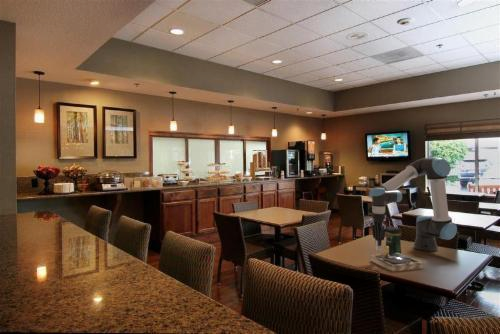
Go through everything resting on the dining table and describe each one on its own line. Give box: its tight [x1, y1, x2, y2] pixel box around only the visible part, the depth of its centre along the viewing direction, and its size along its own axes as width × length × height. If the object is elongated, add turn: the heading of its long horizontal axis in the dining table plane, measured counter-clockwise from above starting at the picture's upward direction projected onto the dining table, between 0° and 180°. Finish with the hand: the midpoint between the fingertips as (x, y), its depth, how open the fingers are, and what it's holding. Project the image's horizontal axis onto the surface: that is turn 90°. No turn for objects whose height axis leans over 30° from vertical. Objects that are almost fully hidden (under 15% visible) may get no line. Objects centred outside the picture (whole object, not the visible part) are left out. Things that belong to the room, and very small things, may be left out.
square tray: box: [370, 253, 423, 272], centre depth 195 cm, size 20×20×4 cm
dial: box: [382, 245, 412, 264], centre depth 195 cm, size 16×16×9 cm
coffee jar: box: [385, 226, 402, 254], centre depth 214 cm, size 10×8×19 cm
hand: (378, 250), depth 201 cm, fingers closed
